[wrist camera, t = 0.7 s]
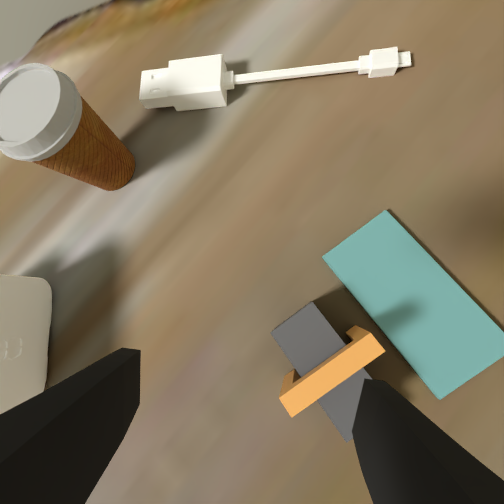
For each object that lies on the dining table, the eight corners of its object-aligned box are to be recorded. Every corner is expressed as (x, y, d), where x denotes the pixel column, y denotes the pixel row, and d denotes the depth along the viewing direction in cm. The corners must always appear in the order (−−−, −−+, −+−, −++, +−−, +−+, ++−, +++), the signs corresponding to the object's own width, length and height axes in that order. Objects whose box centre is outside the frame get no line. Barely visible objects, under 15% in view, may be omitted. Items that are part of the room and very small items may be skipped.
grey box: (390, 404, 24) (410, 428, 19) (350, 433, 24) (360, 463, 20) (311, 301, 27) (312, 301, 22) (275, 327, 27) (270, 332, 23)
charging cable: (405, 90, 30) (419, 65, 27) (149, 115, 35) (134, 97, 32) (401, 54, 31) (414, 25, 28) (152, 83, 36) (138, 62, 33)
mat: (511, 345, 23) (517, 346, 22) (436, 397, 23) (439, 399, 22) (383, 211, 27) (385, 209, 26) (321, 257, 27) (322, 256, 27)
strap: (366, 339, 25) (385, 351, 19) (294, 390, 25) (291, 417, 19) (355, 325, 25) (370, 332, 19) (284, 375, 26) (279, 398, 20)
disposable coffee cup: (72, 177, 36) (-38, 119, 24) (115, 125, 36) (27, 43, 25) (113, 216, 33) (12, 171, 22) (160, 159, 34) (84, 86, 22)
